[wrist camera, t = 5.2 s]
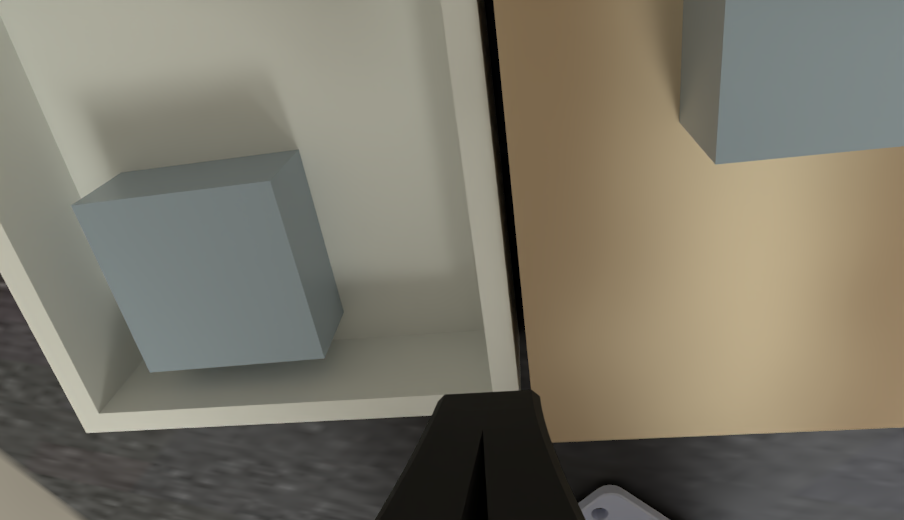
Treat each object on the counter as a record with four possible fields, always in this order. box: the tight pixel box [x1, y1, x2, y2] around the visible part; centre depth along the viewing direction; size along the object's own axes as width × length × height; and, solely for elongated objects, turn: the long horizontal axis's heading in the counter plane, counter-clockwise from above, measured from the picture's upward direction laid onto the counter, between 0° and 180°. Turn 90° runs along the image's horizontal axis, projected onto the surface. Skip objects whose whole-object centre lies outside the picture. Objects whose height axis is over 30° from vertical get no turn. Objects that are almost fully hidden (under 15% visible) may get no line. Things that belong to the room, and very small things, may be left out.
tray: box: [0, 0, 521, 433], centre depth 14 cm, size 11×12×3 cm
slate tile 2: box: [71, 149, 344, 373], centre depth 15 cm, size 4×4×2 cm
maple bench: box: [493, 0, 904, 443], centre depth 11 cm, size 14×13×4 cm
